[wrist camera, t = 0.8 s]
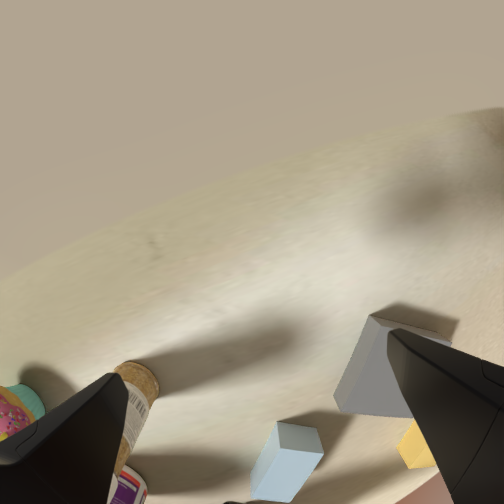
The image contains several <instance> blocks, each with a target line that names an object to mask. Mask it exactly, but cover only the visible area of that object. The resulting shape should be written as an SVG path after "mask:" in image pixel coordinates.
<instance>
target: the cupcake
mask: <svg viewBox="0 0 504 504" xmlns="http://www.w3.org/2000/svg"><path fill="white" fill-rule="evenodd" d="M44 415H45V408H44V405H43V403H42V401H41V399H40V398H39V396H38V395H37V394H36V393H35V392H34V391H33V390H32V389H31V388H29V387H28V386H26V385H23V384H18V385H15V386H11V387H2V386H0V441H2V440H4V439H6V438H8V437H9V436H11V435H13V434H15V433H17V432H18V431H20V430H22V429H23V428H25V427H27V426H28V425H30V424H31V423H33V422H34V421H36V420H39V418H41V417H42V416H44Z"/></svg>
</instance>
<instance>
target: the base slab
mask: <svg viewBox="0 0 504 504" xmlns="http://www.w3.org/2000/svg"><path fill="white" fill-rule="evenodd" d="M396 328H402V329H405V330H407V331H410V332H413V333H415V334H418V335H420V336H423V337H425V338H428V339H431V340H433V341H436V342H438V343H441V344H443V345H446V346H449V347H450V346H451V344H452V342H451V341H449V340H448V339H446V338H445V337H443V336H442V335H440V334H439V333H437V332H433V331H429V330H425V329H421V328H417V327H413V326H409V325H405V324H401V323H398V322H394V321H390V320H386V319H382V318H378V317H375V316H371V315H369V316H368V319H367V321H366V324H365V326H364V328H363V331H362V333H361V336H360V338H359V340H358V343H357V345H356V347H355V350H354V352H353V354H352V357H351V359H350V361H349V363H348V365H347V368H346V370H345V372H344V374H343V376H342V378H341V380H340V382H339V384H338V387H337V389H336V391H335V393H334V395H333V396H334V398H335V401H336V403H337V405H338V407H339V410H340V412H346V413H354V414H363V415H373V416H384V417H398V418H413V415H412V413H411V411H410V409H409V407H408V405H407V403H406V401H405V399H404V397H403V395H402V393H401V391H400V388H399V386H398V383H397V380H396V378H395V375H394V373H393V370H392V367H391V365H390V362H389V360H388V357H387V334H388V332H389V330H392V329H396Z"/></svg>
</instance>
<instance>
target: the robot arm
mask: <svg viewBox="0 0 504 504" xmlns="http://www.w3.org/2000/svg"><path fill="white" fill-rule="evenodd" d="M387 357H388V360H389V362H390V365H391V367H392V370H393V373H394V375H395V378H396V380H397V383H398V386H399V388H400V391H401V393H402V395H403V397H404V399H405V401H406V403H407V405H408V407H409V409H410V411H411V413H412V415H413V417H414V419H415V421H416V423H417V425H418V427H419V429H420V431H421V433H422V435H423V437H424V439H425V441H426V443H427V445H428V447H429V449H430V451H431V453H432V455H433V457H434V460H435V462H436V464H437V466H438V468H439V470H440V472H441V475H442V477H443V479H444V481H445V484H446V486H447V488H448V490H449V492H450V494H451V498H452V500H453V502H454V504H504V367H502V366H500V365H497V364H494V363H491V362H488V361H486V360H483V359H482V360H481V359H480V358H478V357H475V356H472V355H470V354H467V353H464V352H462V351H459V350H457V349H454V348H451V347H449V346H446V345H443V344H441V343H438V342H436V341H433V340H431V339H428V338H425V337H423V336H420V335H418V334H415V333H413V332H410V331H407V330H405V329H402V328H396V329H392V330H389V332H388V334H387ZM128 399H129V392H128V389H127V387H126V385H125V383H124V381H123V379H122V377H121V376H120V374H119V373H117V372H114V373H106V374H105V375H104V376H102V377H101V378H99V379H98V380H96V381H95V382H93V383H92V384H90V385H89V386H87V387H86V388H84V389H83V390H81V391H80V392H78V393H77V394H75V395H74V396H72V397H71V398H69V399H68V400H66V401H65V402H63V403H62V404H60V405H59V406H57V407H56V408H54V409H53V410H51V411H50V412H48V413H47V414H45V415H44V416H42V417H41V418H39V420H36V421H34V422H33V423H31V424H30V425H28V426H27V427H25V428H23V429H22V430H20V431H18V432H17V433H15V434H13V435H11V436H9V437H8V438H6V439H4V440H2V441H0V504H107V501H108V496H109V491H110V486H111V482H112V477H113V473H114V468H115V464H116V460H117V456H118V452H119V448H120V444H121V440H122V436H123V431H124V426H125V419H126V412H127V405H128ZM224 504H229V503H224Z"/></svg>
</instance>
